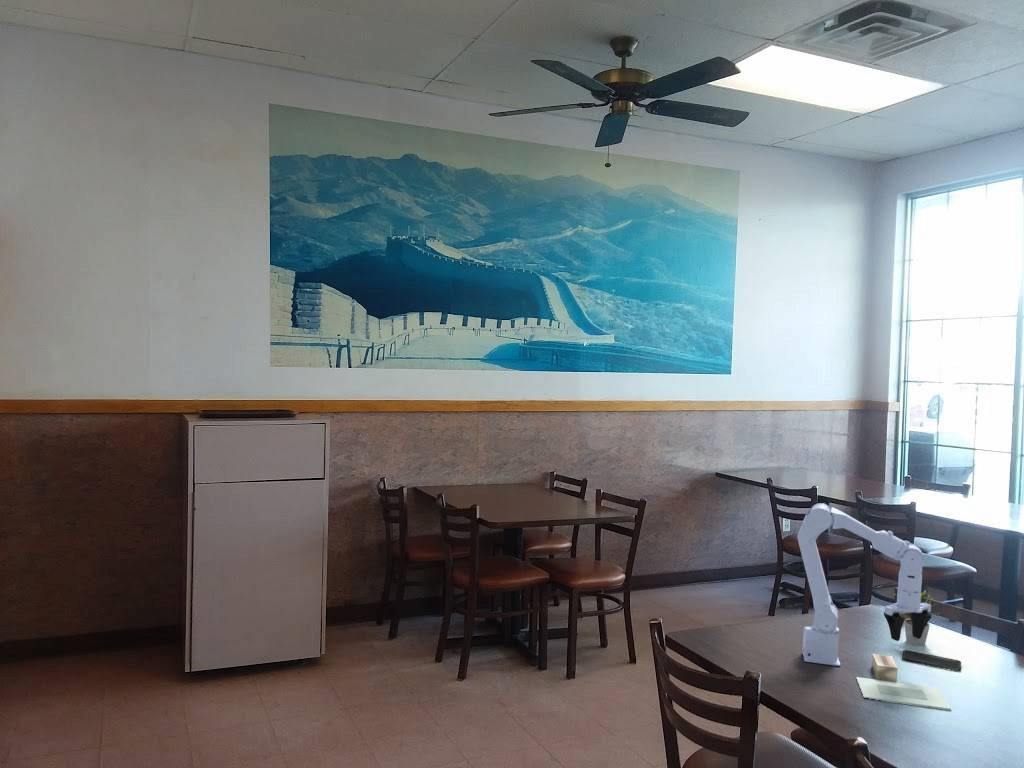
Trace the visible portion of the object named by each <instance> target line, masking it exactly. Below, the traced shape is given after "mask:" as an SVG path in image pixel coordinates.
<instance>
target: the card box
mask: <svg viewBox="0 0 1024 768" xmlns="http://www.w3.org/2000/svg"><path fill="white" fill-rule="evenodd" d="M872 668H873V669H872ZM871 669H872V671H873V674H874V673H875V674H874V676H875V679H876V678H877V679H876V680H880V679H881V680H883V681H890V682H895V681H896V682H898V671H899V668H898V666H897V664H896V661H895V659H894V658H893V656H892V655H886V654H877V653H872V655H871Z"/></svg>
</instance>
